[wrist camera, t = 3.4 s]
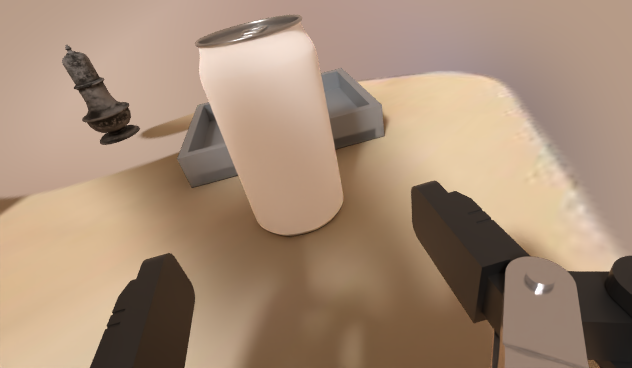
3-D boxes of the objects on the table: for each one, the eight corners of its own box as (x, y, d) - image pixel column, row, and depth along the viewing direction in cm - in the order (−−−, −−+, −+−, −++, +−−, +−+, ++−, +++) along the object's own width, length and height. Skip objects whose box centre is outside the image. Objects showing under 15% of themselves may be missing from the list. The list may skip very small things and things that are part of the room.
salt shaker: (142, 121, 48) (95, 36, 41) (141, 134, 43) (89, 40, 36) (100, 135, 46) (44, 49, 40) (95, 150, 42) (31, 55, 35)
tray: (191, 187, 29) (176, 159, 27) (207, 127, 40) (197, 105, 39) (384, 135, 29) (381, 105, 28) (345, 91, 41) (341, 67, 39)
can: (248, 244, 21) (164, 56, 14) (264, 187, 26) (209, 29, 20) (346, 233, 20) (305, 25, 13) (343, 176, 25) (312, 7, 19)
